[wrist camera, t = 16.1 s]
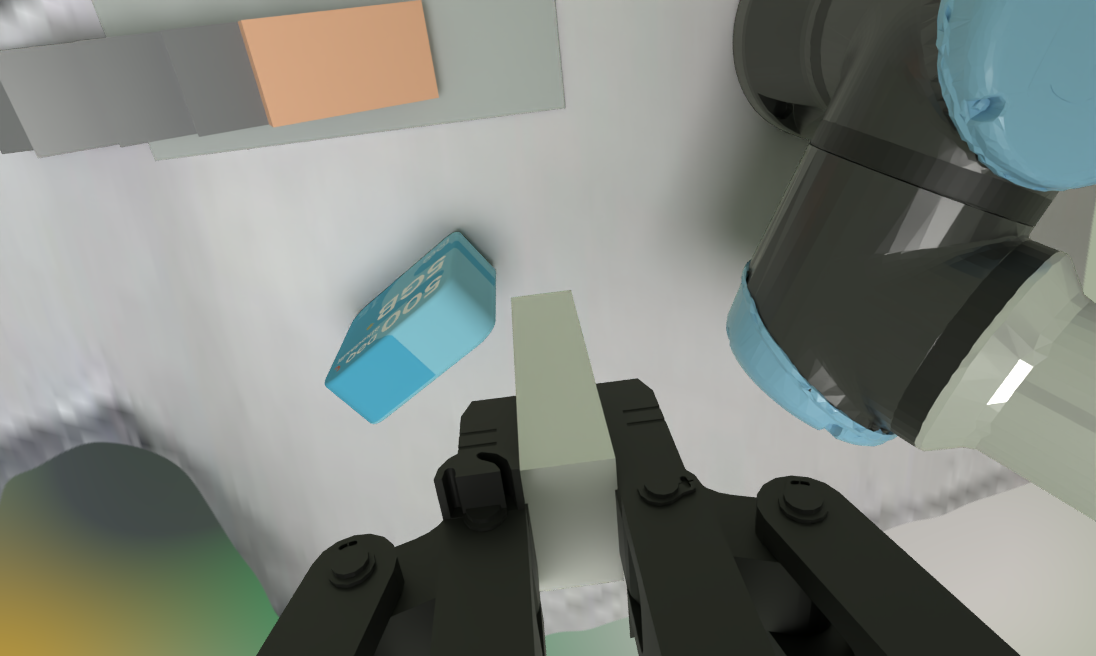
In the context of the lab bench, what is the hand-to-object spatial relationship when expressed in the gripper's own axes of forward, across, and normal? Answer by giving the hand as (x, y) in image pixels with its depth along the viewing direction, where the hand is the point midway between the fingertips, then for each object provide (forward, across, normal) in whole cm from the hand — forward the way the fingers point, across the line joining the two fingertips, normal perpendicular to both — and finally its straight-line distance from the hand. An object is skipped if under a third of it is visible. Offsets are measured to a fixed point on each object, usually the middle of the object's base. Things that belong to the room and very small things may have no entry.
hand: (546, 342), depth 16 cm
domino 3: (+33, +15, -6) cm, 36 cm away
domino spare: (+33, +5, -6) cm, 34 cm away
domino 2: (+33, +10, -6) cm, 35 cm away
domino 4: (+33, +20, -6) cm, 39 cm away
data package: (+34, +9, +12) cm, 38 cm away
